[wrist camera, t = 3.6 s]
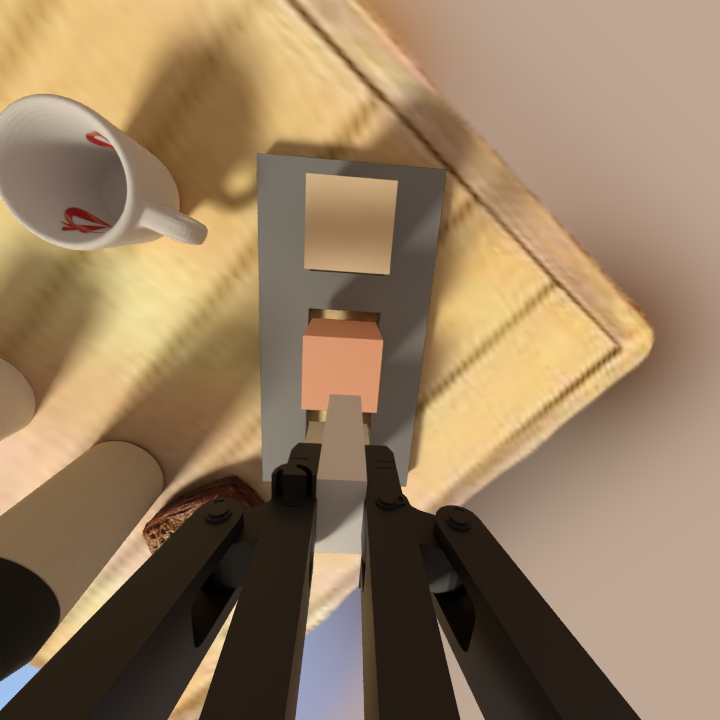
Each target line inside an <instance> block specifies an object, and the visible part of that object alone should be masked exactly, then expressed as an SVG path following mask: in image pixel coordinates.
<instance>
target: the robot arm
mask: <svg viewBox="0 0 720 720" xmlns="http://www.w3.org/2000/svg"><path fill="white" fill-rule="evenodd" d="M271 479H272V498H271V500H270V501H268V502H266V503H264V504H262V505H259V506H255V507H250V508H245V509H243V505H242V504H241V503H240V502H239V501H238V500H235V499H233V498H224V497H223V498H217V499H213V500H211V501H208V502H206V503H204V504H203V505H201V506H200V507H199V508H198V509H197V510H196V511H195V512H194V513H193V514H192V515H191V516H190V517H189V518H188V519H187V520H186V521H185V522H184V523H183V524H182V525H181V526H180V527H179V528H178V529H177V530H176V531H175V532H174V533H173V534H172V535H171V536H170V537H169V538H168V539H167V540H166V541H165V542H164V543H163V544H162V545H161V546H160V547H159V549H158V550H157V551H156V552H155V553H154V554H153V555H152V556H151V557H150V558H149V559H148V560H147V561H146V562H145V563H144V564H143V565H142V566H141V567H140V568H139V569H138V570H137V571H136V572H135V573H134V574H133V575H132V576H131V577H130V578H129V579H128V580H127V581H126V582H125V583H124V584H123V585H122V586H121V587H120V589H119V590H118V591H117V592H116V593H115V594H114V595H113V596H112V597H111V598H110V599H109V600H108V601H107V602H106V603H105V604H104V605H103V606H102V607H101V608H100V609H99V610H98V611H97V612H96V613H95V614H94V615H93V616H92V617H91V618H90V619H89V620H88V621H87V622H86V623H85V624H84V625H83V626H82V627H81V628H80V630H79V631H78V632H77V633H76V634H75V635H74V636H73V637H72V638H71V639H70V640H69V641H68V642H67V643H66V644H65V645H64V646H63V647H62V648H61V649H60V650H59V651H58V652H57V653H56V654H55V655H54V656H53V657H52V658H51V659H50V660H49V661H48V662H47V663H46V664H45V665H44V666H43V667H42V668H41V670H40V671H39V672H38V673H37V674H36V675H35V676H34V677H33V678H32V679H31V680H30V681H29V682H28V683H27V684H26V685H25V686H24V687H23V688H22V689H21V690H20V691H19V692H18V693H17V694H16V695H15V696H14V697H13V698H12V699H11V700H10V701H9V702H8V703H7V705H5V707H3V708H2V710H1V711H0V720H167V719H168V718H169V716H170V714H171V713H172V711H173V709H174V707H175V706H176V704H177V702H178V701H179V699H180V697H181V696H182V694H183V692H184V691H185V689H186V687H187V685H188V684H189V682H190V680H191V679H192V677H193V675H194V674H195V672H196V670H197V668H198V667H199V665H200V663H201V662H202V660H203V658H204V657H205V655H206V653H207V652H208V650H209V648H210V646H211V645H212V643H213V641H214V640H215V638H216V636H217V635H218V633H219V631H220V629H221V628H222V626H223V624H224V623H225V621H226V619H227V618H228V616H229V614H230V612H231V611H232V609H233V607H234V606H235V604H236V602H237V601H238V602H237V605H236V608H235V611H234V614H233V617H232V620H231V623H230V626H229V629H228V632H227V636H226V639H225V642H224V645H223V648H222V651H221V654H220V657H219V660H218V663H217V666H216V669H215V672H214V675H213V678H212V681H211V684H210V688H209V691H208V694H207V697H206V700H205V703H204V706H203V709H202V712H201V715H200V718H199V720H295V716H296V706H297V698H298V689H299V682H300V673H301V665H302V656H303V647H304V640H305V632H306V623H307V615H308V606H309V598H310V589H311V581H312V573H313V557H314V553H342V554H361V553H362V556H361V567H360V578H359V588H361V609H362V610H361V611H362V646H363V683H364V716H365V717H364V718H365V719H364V720H460V716H459V712H458V708H457V704H456V700H455V695H454V691H453V687H452V682H451V678H450V674H449V669H448V665H447V661H446V657H445V652H444V648H443V644H442V640H441V635H440V631H439V627H438V623H437V619H438V621H439V623H440V625H441V627H442V630H443V632H444V634H445V636H446V638H447V640H448V642H449V645H450V647H451V649H452V651H453V653H454V655H455V657H456V659H457V661H458V664H459V666H460V668H461V670H462V672H463V674H464V676H465V678H466V680H467V683H468V685H469V687H470V689H471V691H472V693H473V695H474V697H475V700H476V702H477V704H478V706H479V708H480V710H481V712H482V714H483V717H484V718H485V720H641V719H640V718H639V716H638V715H637V714H636V713H635V711H634V710H633V709H632V708H631V706H630V705H629V704H628V703H627V702H626V700H625V699H624V698H623V697H622V695H621V694H620V693H619V692H618V690H617V689H616V688H615V687H614V686H613V684H612V683H611V682H610V681H609V679H608V678H607V677H606V675H605V674H604V673H603V672H602V671H601V669H600V668H599V667H598V666H597V664H596V663H595V662H594V661H593V659H592V658H591V657H590V656H589V654H588V653H587V652H586V651H585V649H584V648H583V647H582V646H581V644H580V643H579V642H578V641H577V639H576V638H575V637H574V636H573V635H572V633H571V632H570V631H569V630H568V628H567V627H566V626H565V625H564V623H563V622H562V621H561V620H560V618H559V617H558V616H557V615H556V613H555V612H554V611H553V610H552V609H551V608H550V606H549V605H548V604H547V602H546V601H545V600H544V599H543V598H542V596H541V595H540V594H539V592H538V591H537V590H536V589H535V587H534V586H533V585H532V584H531V582H530V581H529V580H528V579H527V577H526V576H525V575H524V574H523V572H522V571H521V570H520V569H519V568H518V566H517V565H516V564H515V563H514V561H513V560H512V559H511V558H510V556H509V555H508V554H507V553H506V551H505V550H504V549H503V548H502V546H501V545H500V544H499V543H498V541H497V540H496V539H495V538H494V537H493V535H492V534H491V533H490V532H489V530H488V529H487V528H486V527H485V525H484V524H483V523H482V522H481V520H480V519H479V518H478V517H477V516H476V515H475V514H474V513H473V512H471V511H469V510H467V509H465V508H463V507H459V506H454V505H447V506H444V507H441V508H440V509H439V510H438V511H437V512H436V515H433V514H430V513H426V512H423V511H420V510H417V509H416V508H414V507H412V506H411V505H410V503H409V501H408V499H407V497H406V496H405V495H403V494H402V490H401V485H400V481H399V476H398V472H397V467H396V463H395V458H394V453H393V452H392V451H391V450H390V449H389V448H388V446H382V445H364V431H363V417H362V404H361V396H355V395H337V394H330V396H329V403H328V409H327V415H326V422H325V428H324V435H323V441H322V444H320V443H298V444H297V445H296V446H295V447H293V448H292V449H291V453H290V456H289V459H288V462H287V463H286V464H282V465H280V466H279V467H277V468H275V470H274V471H273V472H272V474H271ZM436 617H437V618H436Z"/></svg>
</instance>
